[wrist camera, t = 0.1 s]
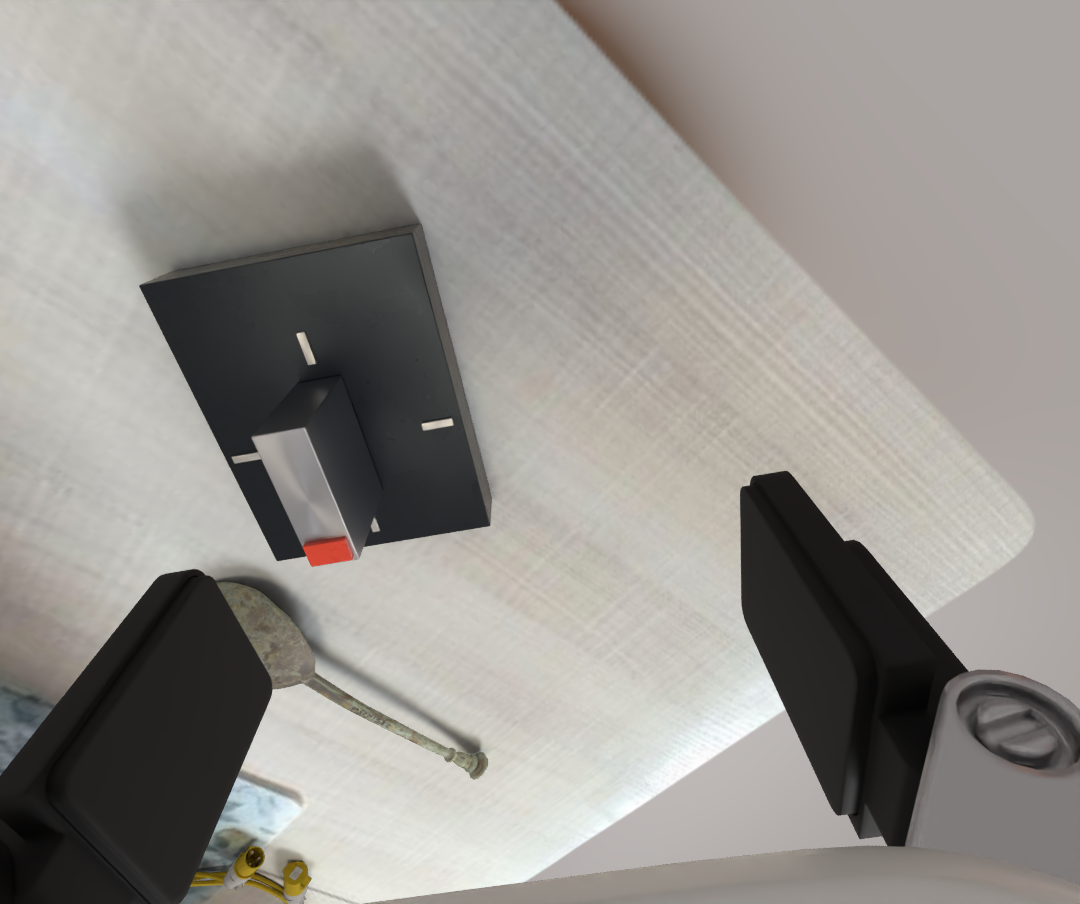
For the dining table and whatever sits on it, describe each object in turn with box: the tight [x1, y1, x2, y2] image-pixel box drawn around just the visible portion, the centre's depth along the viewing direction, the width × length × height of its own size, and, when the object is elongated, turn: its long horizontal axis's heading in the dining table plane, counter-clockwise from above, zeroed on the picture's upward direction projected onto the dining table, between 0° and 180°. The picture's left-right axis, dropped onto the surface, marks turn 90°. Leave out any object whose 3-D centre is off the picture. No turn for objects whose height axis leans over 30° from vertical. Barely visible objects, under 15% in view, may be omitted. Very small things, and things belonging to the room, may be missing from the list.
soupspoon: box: [217, 582, 488, 780], centre depth 37 cm, size 22×3×7 cm
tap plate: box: [139, 224, 492, 561], centre depth 27 cm, size 14×11×3 cm
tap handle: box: [251, 376, 383, 567], centre depth 24 cm, size 6×2×5 cm, turn 10°
